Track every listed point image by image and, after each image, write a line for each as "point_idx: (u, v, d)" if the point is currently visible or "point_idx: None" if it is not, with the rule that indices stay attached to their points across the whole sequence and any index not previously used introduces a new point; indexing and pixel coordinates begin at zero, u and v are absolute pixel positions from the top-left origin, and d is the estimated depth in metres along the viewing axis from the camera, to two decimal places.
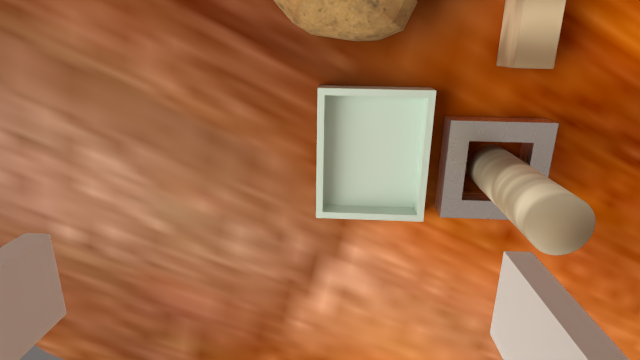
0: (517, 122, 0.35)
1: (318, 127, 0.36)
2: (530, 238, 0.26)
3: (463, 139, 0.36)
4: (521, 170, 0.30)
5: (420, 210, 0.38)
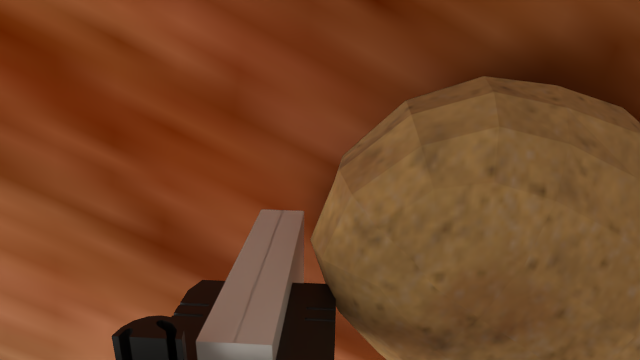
0: None
1: None
2: None
3: None
4: None
5: None
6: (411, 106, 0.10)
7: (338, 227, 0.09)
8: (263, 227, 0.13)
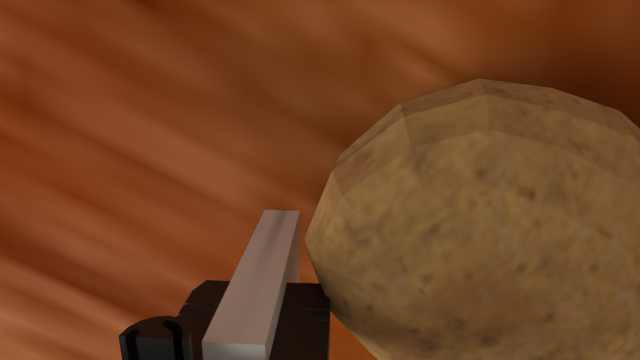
0: None
1: None
2: None
3: None
4: None
5: None
6: (404, 108, 0.10)
7: (328, 227, 0.09)
8: (267, 227, 0.13)
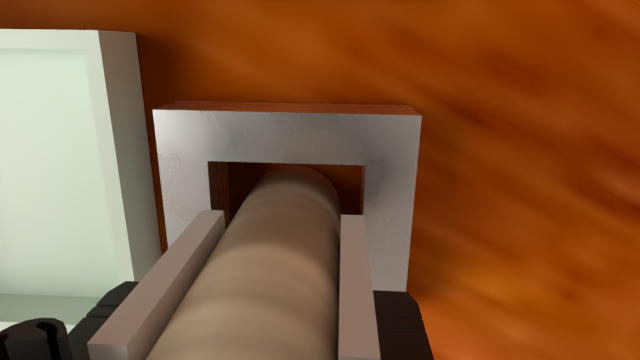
0: (319, 114, 0.14)
1: None
2: None
3: (192, 157, 0.14)
4: (225, 278, 0.09)
5: None
6: None
7: None
8: (197, 227, 0.12)
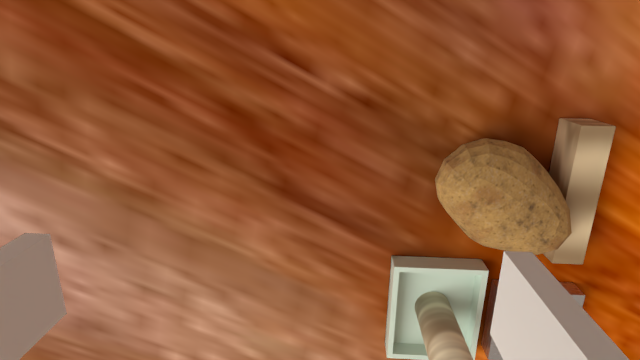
0: None
1: (393, 294, 0.45)
2: None
3: None
4: (446, 342, 0.39)
5: (472, 354, 0.47)
6: (466, 146, 0.37)
7: (448, 177, 0.37)
8: None
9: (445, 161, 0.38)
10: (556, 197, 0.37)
